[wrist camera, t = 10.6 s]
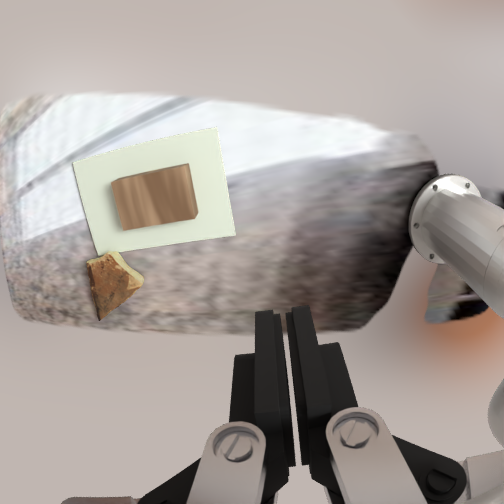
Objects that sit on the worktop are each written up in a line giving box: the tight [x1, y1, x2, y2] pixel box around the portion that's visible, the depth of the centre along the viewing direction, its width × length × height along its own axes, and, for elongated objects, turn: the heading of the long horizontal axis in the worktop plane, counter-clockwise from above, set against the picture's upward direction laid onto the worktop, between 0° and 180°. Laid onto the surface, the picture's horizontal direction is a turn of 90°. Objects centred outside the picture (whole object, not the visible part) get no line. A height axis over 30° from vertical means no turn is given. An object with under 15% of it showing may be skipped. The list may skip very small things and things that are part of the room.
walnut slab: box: [111, 163, 199, 231], centre depth 36 cm, size 2×6×9 cm
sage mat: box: [73, 127, 236, 255], centre depth 38 cm, size 19×13×1 cm
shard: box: [86, 251, 144, 321], centre depth 41 cm, size 11×8×2 cm
